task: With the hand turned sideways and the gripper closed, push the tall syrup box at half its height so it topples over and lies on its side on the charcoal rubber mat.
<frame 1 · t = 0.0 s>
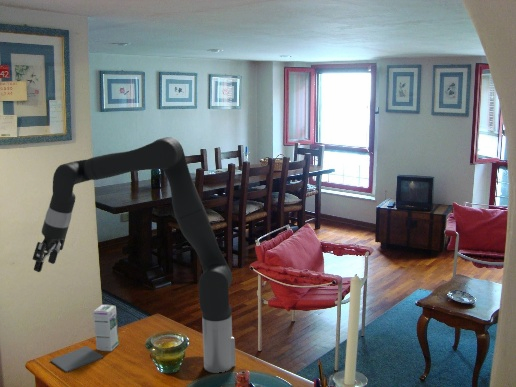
hand: (44, 266, 172), 31 cm above the table, tool tilted 20°, fingers open, 8 cm apart
syrup box: (107, 347, 183), on the table
charcoal mat: (77, 359, 175), on the table
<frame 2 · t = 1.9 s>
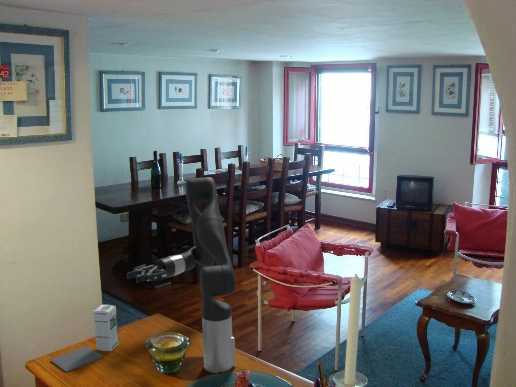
hand: (132, 278, 188), 22 cm above the table, tool horizontal, fingers open, 5 cm apart
nothing on the table moved.
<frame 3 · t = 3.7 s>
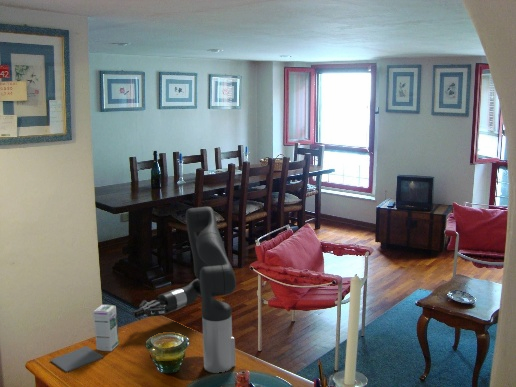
hand: (133, 315, 190), 8 cm above the table, tool horizontal, fingers closed
nothing on the table moved.
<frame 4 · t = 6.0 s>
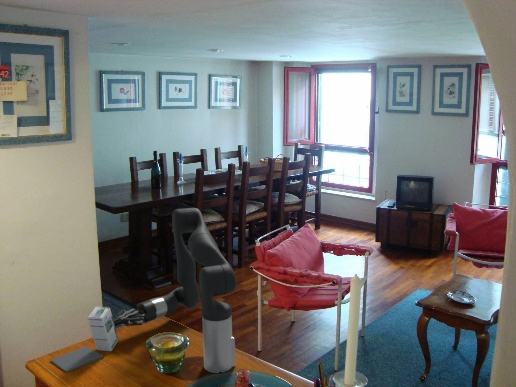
hand: (110, 324, 183), 8 cm above the table, tool horizontal, fingers closed
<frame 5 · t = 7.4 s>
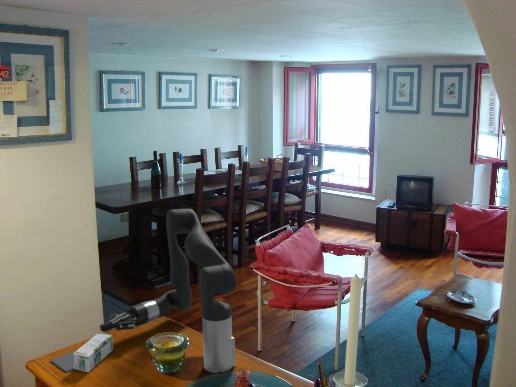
hand: (101, 328, 181), 8 cm above the table, tool horizontal, fingers closed
syrup box: (105, 340, 180), point 4 cm above the table, touching charcoal mat
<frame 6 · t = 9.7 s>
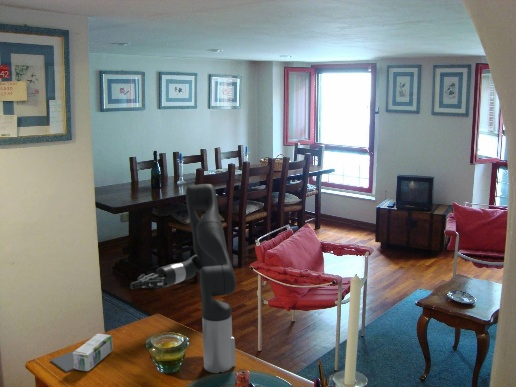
hand: (131, 286, 187), 19 cm above the table, tool horizontal, fingers closed
nothing on the table moved.
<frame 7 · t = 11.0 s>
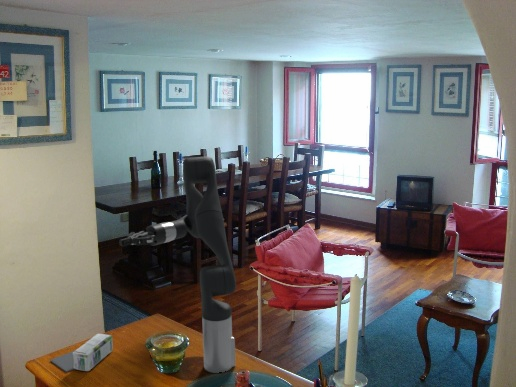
hand: (120, 243, 185), 35 cm above the table, tool horizontal, fingers closed
nothing on the table moved.
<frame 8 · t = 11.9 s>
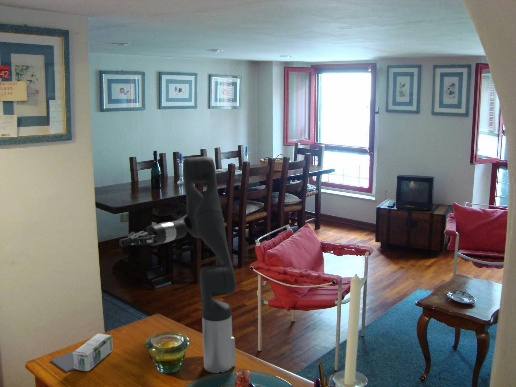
hand: (120, 243, 185), 35 cm above the table, tool horizontal, fingers closed
nothing on the table moved.
at the end: syrup box tilted 90°; syrup box touching charcoal mat; the gripper is holding nothing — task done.
